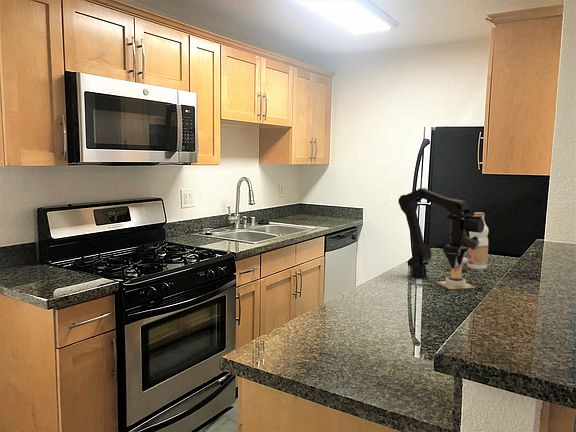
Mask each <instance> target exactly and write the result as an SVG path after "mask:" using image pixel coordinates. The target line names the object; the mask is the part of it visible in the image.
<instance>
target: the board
mask: <svg viewBox="0 0 576 432" xmlns="http://www.w3.org/2000/svg"><path fill="white" fill-rule="evenodd" d="M436 283H437V284H439V285H441V286H443V287H444V288H446V289H448V290H455V289H456V290H457V289H476V288H477V287H475V286H474V285H472V284H469V283H467V282H466V285H465V286H464V287H452V286H448V285H446V284H445V281H443V280H442V281H436Z"/></svg>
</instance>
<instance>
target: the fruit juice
mask: <svg viewBox="0 0 576 432" xmlns="http://www.w3.org/2000/svg"><path fill="white" fill-rule="evenodd" d="M473 216H482V219H483V221H484V224H485V225H484V230H483V232H482V233H477V232H469V237H471V238H473V237H474V236H476V237H478V241H479V244H478V246H477V249H475V250H473V249H471V248H469V250H467V259H468V262H466V263H467V268H469V269H472V270H486V269H488V260H489V259H488V257H489V238H488V235H489V232H490V231H489V227H488V226H487V224H486V222H485V212H479V211H477V212H473Z"/></svg>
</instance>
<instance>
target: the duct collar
mask: <svg viewBox="0 0 576 432" xmlns="http://www.w3.org/2000/svg"><path fill="white" fill-rule="evenodd" d="M466 283H467V279H465V278H463V277H461V281H454V280H450V276H446V277H445V284H446V285H448V286H452V287H464V286H465V285H466Z"/></svg>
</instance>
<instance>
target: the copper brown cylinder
mask: <svg viewBox="0 0 576 432" xmlns="http://www.w3.org/2000/svg"><path fill="white" fill-rule="evenodd" d="M449 270H450V272H449V273H450V274H449V275H450V276H449V277H450V280H454V281H461V278H462V277H463V276H462V273H463V271H462V270H463V267H462V266H459V265H455V269H452V268H451V267H450V269H449Z"/></svg>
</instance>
